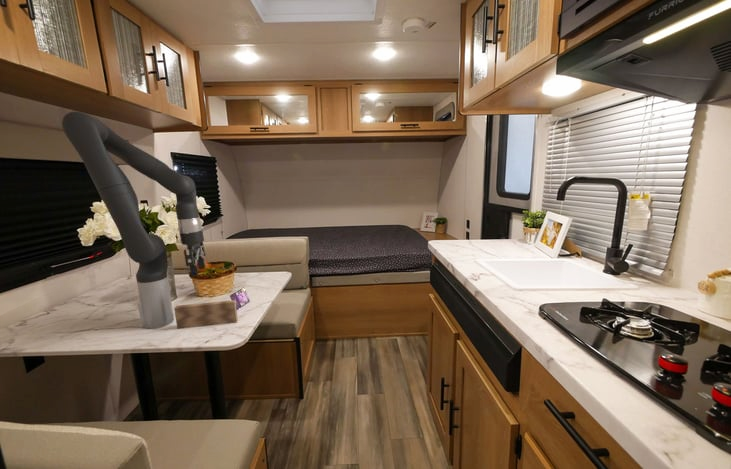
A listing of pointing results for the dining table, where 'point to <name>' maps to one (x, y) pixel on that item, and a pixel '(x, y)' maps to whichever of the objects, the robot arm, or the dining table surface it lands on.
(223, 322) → the walnut board
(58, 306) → the dining table surface
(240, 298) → the purple crystal
